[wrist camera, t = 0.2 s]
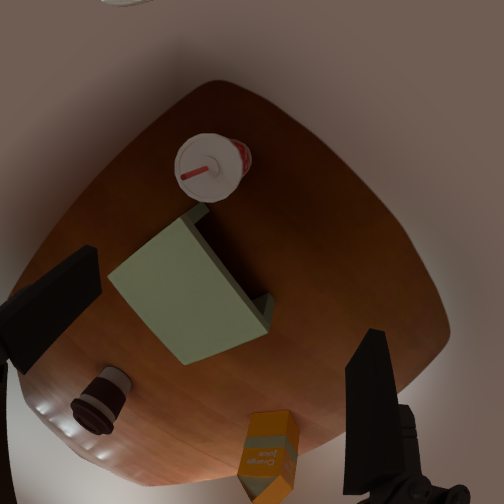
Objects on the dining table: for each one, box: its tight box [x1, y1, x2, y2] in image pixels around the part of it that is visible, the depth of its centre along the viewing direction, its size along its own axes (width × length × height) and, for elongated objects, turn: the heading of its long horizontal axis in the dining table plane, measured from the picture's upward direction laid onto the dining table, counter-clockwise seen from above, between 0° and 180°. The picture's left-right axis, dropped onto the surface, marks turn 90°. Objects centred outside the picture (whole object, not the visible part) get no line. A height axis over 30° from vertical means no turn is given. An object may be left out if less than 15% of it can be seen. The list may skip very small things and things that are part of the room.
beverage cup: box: [175, 134, 252, 202], centre depth 25 cm, size 6×6×14 cm
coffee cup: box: [71, 367, 132, 435], centre depth 47 cm, size 10×10×15 cm
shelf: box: [107, 202, 275, 365], centre depth 35 cm, size 14×16×7 cm
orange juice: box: [237, 410, 300, 504], centre depth 41 cm, size 8×9×20 cm
